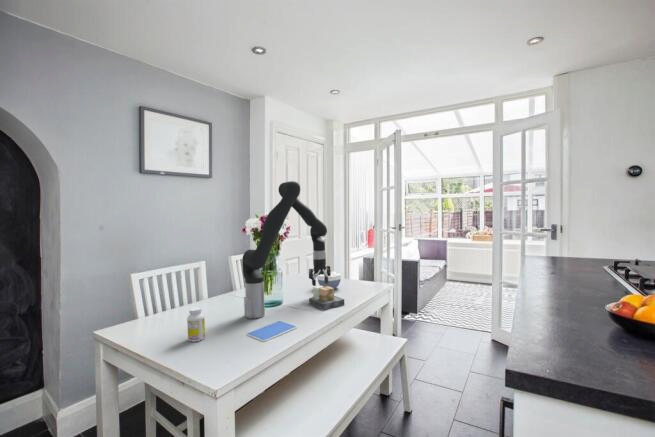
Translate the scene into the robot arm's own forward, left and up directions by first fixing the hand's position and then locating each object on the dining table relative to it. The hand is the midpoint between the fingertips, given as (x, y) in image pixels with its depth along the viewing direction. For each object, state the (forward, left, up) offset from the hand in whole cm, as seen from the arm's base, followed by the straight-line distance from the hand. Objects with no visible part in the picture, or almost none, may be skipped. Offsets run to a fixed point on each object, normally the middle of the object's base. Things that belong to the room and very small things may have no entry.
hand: (320, 284), depth 193 cm
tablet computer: (-46, -31, -8) cm, 56 cm away
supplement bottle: (-75, -19, -8) cm, 78 cm away
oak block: (-5, -14, -5) cm, 16 cm away
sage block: (0, 0, -8) cm, 8 cm away
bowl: (+16, +13, -8) cm, 22 cm away
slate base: (-5, -14, -8) cm, 17 cm away
